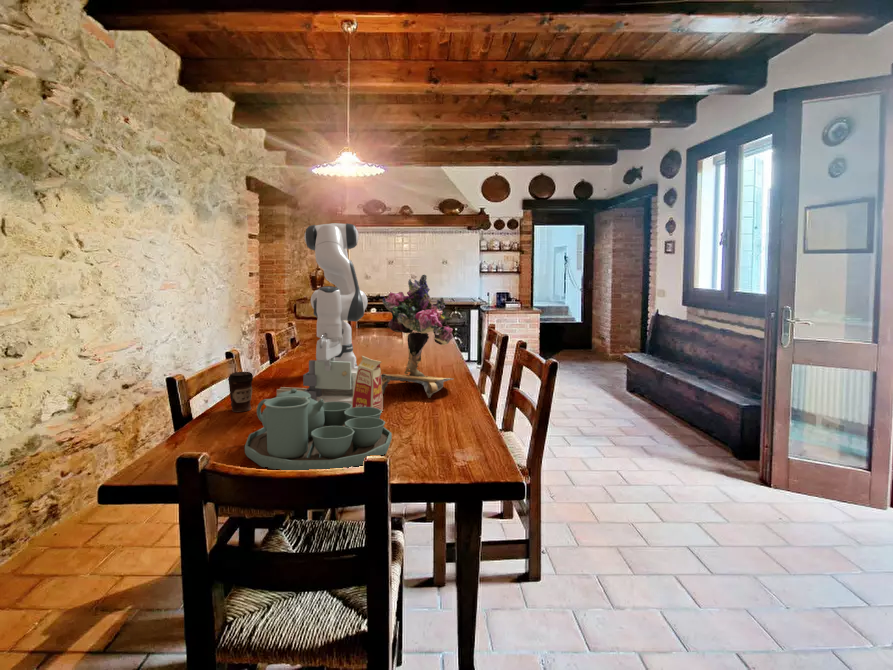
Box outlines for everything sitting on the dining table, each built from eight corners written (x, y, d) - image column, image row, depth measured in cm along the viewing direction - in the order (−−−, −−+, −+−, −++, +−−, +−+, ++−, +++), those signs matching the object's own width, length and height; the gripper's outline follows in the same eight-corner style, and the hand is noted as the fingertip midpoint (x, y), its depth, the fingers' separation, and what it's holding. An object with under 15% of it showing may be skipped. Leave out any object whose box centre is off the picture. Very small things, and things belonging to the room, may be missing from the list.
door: (310, 386, 205) (310, 360, 204) (351, 388, 204) (351, 361, 203) (307, 388, 202) (307, 361, 201) (349, 390, 201) (349, 363, 200)
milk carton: (350, 415, 190) (350, 357, 188) (363, 408, 199) (363, 353, 196) (374, 418, 187) (374, 359, 185) (386, 411, 196) (387, 355, 193)
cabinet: (317, 394, 218) (317, 366, 217) (361, 396, 217) (361, 368, 215) (303, 404, 202) (303, 374, 201) (351, 406, 201) (351, 376, 200)
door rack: (281, 394, 216) (281, 387, 216) (306, 395, 216) (306, 388, 215) (276, 397, 212) (276, 389, 211) (302, 398, 211) (302, 390, 211)
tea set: (392, 473, 140) (393, 409, 138) (227, 476, 136) (225, 410, 134) (390, 426, 180) (391, 376, 177) (262, 427, 175) (261, 376, 173)
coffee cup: (259, 410, 194) (258, 373, 192) (236, 414, 188) (235, 376, 186) (247, 405, 200) (246, 369, 198) (224, 409, 194) (223, 372, 192)
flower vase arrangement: (455, 368, 257) (465, 277, 236) (452, 426, 218) (464, 322, 197) (383, 361, 257) (386, 269, 236) (367, 418, 217) (370, 314, 197)
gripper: (329, 335, 190) (329, 375, 192) (345, 328, 210) (345, 365, 212) (311, 335, 191) (311, 375, 193) (328, 328, 211) (329, 364, 213)
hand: (329, 369), depth 203 cm, fingers closed on door, 2 cm apart
